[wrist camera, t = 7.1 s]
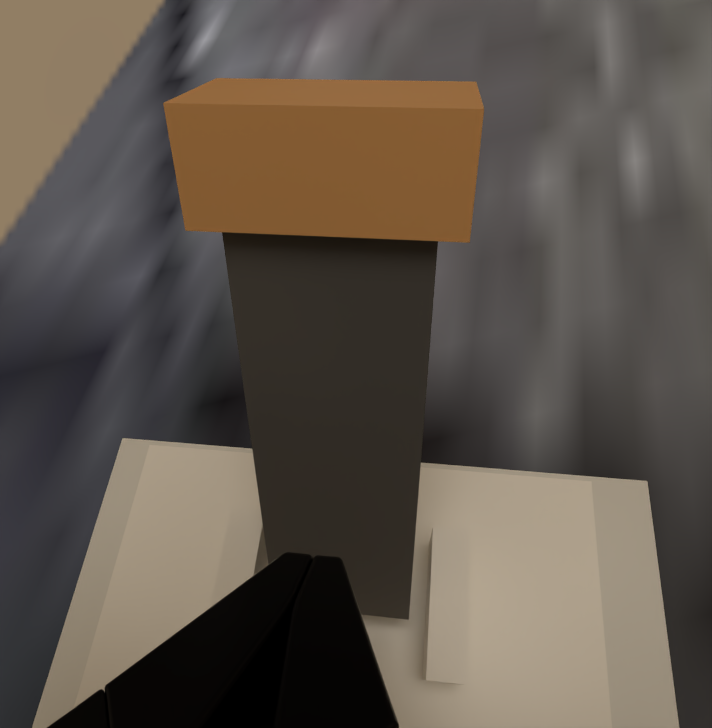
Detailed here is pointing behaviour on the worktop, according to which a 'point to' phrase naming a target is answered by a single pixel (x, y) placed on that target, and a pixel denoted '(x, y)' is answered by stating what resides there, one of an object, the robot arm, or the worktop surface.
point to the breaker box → (428, 590)
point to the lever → (333, 293)
